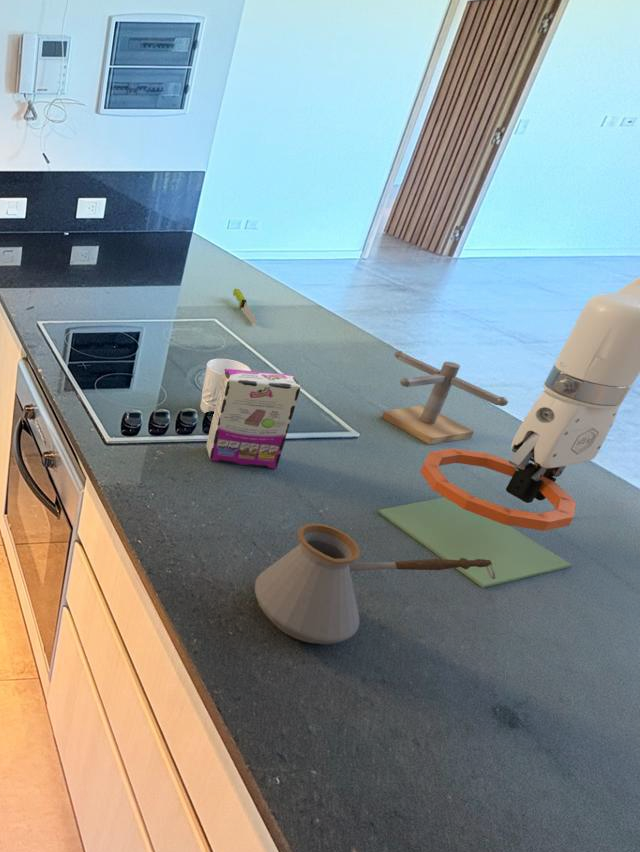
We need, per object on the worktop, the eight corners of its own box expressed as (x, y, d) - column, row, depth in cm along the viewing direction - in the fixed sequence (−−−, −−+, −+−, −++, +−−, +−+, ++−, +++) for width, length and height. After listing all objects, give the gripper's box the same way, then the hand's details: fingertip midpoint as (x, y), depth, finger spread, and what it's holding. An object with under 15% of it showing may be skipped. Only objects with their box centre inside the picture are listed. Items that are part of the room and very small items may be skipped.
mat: (457, 496, 100) (458, 494, 100) (570, 567, 86) (572, 564, 86) (377, 512, 97) (378, 509, 97) (482, 588, 83) (484, 585, 83)
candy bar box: (269, 454, 111) (294, 373, 104) (277, 470, 107) (303, 387, 100) (203, 445, 114) (223, 366, 106) (208, 461, 109) (229, 379, 102)
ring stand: (396, 398, 129) (420, 339, 123) (501, 453, 111) (535, 387, 105) (336, 407, 126) (357, 347, 120) (434, 465, 108) (465, 398, 102)
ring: (477, 451, 97) (481, 443, 96) (601, 518, 83) (607, 509, 82) (394, 465, 93) (398, 457, 92) (509, 538, 79) (514, 529, 78)
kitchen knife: (257, 331, 164) (260, 321, 162) (252, 331, 164) (255, 321, 163) (236, 296, 183) (238, 287, 181) (231, 296, 183) (234, 287, 181)
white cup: (226, 400, 128) (237, 357, 124) (247, 420, 121) (259, 375, 117) (190, 402, 128) (199, 359, 124) (208, 422, 121) (219, 377, 117)
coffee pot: (253, 639, 76) (286, 547, 69) (245, 574, 85) (273, 487, 79) (464, 698, 69) (523, 601, 62) (430, 620, 78) (478, 529, 72)
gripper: (574, 406, 77) (510, 520, 85) (662, 392, 81) (593, 503, 89) (510, 379, 84) (456, 488, 92) (594, 367, 87) (535, 473, 95)
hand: (524, 495), depth 90 cm, fingers closed on ring, 1 cm apart
